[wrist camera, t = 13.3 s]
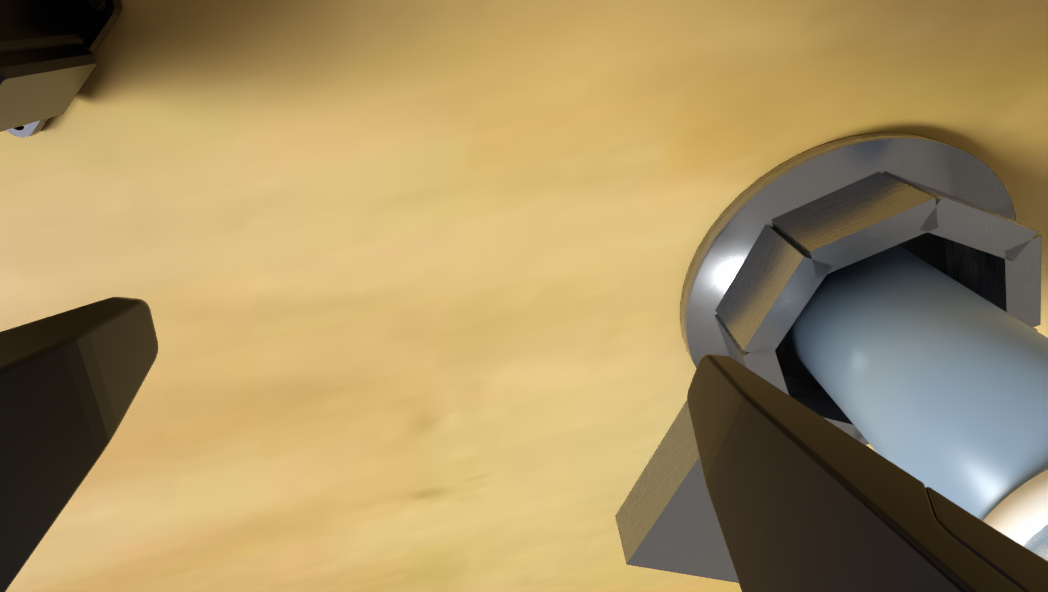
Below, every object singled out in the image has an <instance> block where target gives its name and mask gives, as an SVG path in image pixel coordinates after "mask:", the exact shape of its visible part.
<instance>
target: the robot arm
mask: <svg viewBox="0 0 1048 592" xmlns="http://www.w3.org/2000/svg"><path fill="white" fill-rule="evenodd" d="M105 4H106V5H105V9H103V8H101V7H100V6H99V5H98V3H97V1H96V0H0V132H1V131H5V130H6V131H8V132H9V133H11V134H13V135H15V136H17V137H22V138H23V137H28V136H32V135H35V134H37V133H38V132H39V131H40V130H41V129H42V127H43V126H44V124H45V123H46V121H47V120H48V119H49V118H51V117H55V116H58V115H61V114H63V113H64V111H65V110H66V108H67V107H68V106H69V104H70V103H71V101H72V100H73V98H74V97H75V96H76V94H77V93H78V91H79V90H80V88H81V87H82V85H83V84H84V83H85V81H86V80H87V78H88V77H89V75H90V74H91V72H92V71H93V70H94V68H95V67H96V65H97V60H96V54H94V51H95V50H96V49H97V47H98V46H99V44H100V43H101V41H102V40H103V38H104V37H105V35H106V34H107V32H108V31H109V30H110V28H111V27H112V25H113V24H114V22H115V21H116V19H117V18H118V16H119V15H120V13H121V10H122V6H121V1H120V0H105ZM22 125H25V126H22ZM157 352H158V341H157V337H156V333H155V328H154V324H153V320H152V316H151V311H150V308H149V306H148V304H147V303H146V302H145V301H143V300H141V299H134V298H124V297H112V298H108V299H105V300H102V301H98V302H95V303H92V304H89V305H85V306H82V307H79V308H76V309H73V310H69V311H66V312H63V313H60V314H57V315H53V316H50V317H47V318H44V319H41V320H37V321H34V322H31V323H28V324H25V325H21V326H18V327H15V328H12V329H9V330H5V331H2V332H0V592H5V591H6V590H7V588H8V587H9V586H10V584H11V583H12V581H13V580H14V578H15V577H16V576H17V574H18V573H19V571H20V570H21V568H22V567H23V566H24V564H25V563H26V561H27V560H28V558H29V557H30V556H31V554H32V553H33V551H34V550H35V548H36V547H37V546H38V544H39V543H40V541H41V540H42V538H43V537H44V536H45V534H46V533H47V531H48V530H49V528H50V527H51V526H52V524H53V523H54V521H55V520H56V518H57V517H58V516H59V514H60V513H61V511H62V510H63V509H64V507H65V506H66V504H67V503H68V501H69V500H70V499H71V497H72V496H73V494H74V493H75V491H76V490H77V489H78V487H79V486H80V484H81V483H82V481H83V480H84V479H85V477H86V476H87V474H88V473H89V471H90V470H91V469H92V467H93V466H94V464H95V463H96V461H97V460H98V459H99V457H100V456H101V454H102V453H103V451H104V450H105V448H106V447H107V445H108V444H109V442H110V440H111V439H112V437H113V435H114V434H115V432H116V430H117V429H118V427H119V425H120V423H121V421H122V420H123V418H124V416H125V414H126V412H127V410H128V409H129V407H130V405H131V403H132V401H133V399H134V398H135V396H136V394H137V392H138V390H139V388H140V387H141V385H142V383H143V381H144V379H145V377H146V376H147V374H148V372H149V370H150V368H151V366H152V365H153V363H154V361H155V359H156V356H157ZM687 403H688V408H689V413H690V417H691V422H692V426H693V431H694V436H695V440H696V445H697V449H698V454H699V458H700V463H701V468H702V472H703V476H704V479H705V483H706V486H707V489H708V493H709V496H710V499H711V502H712V505H713V508H714V511H715V513H716V516H717V519H718V522H719V525H720V528H721V531H722V534H723V537H724V540H725V543H726V546H727V549H728V552H729V555H730V558H731V561H732V564H733V566H734V569H735V572H736V575H737V578H738V581H739V584H740V587H741V590H742V592H1048V561H1047V560H1045V559H1044V558H1042V557H1040V556H1039V555H1037V554H1035V553H1034V552H1032V551H1030V550H1029V549H1027V548H1025V547H1024V546H1022V545H1020V544H1019V543H1017V542H1015V541H1014V540H1012V539H1011V538H1009V537H1007V536H1006V535H1004V534H1002V533H1001V532H999V531H997V530H996V529H994V528H993V527H991V526H989V525H988V524H986V523H985V522H983V521H982V520H980V519H978V518H977V517H975V516H974V515H972V514H971V513H969V512H967V511H966V510H964V509H963V508H961V507H960V506H958V505H956V504H955V503H953V502H952V501H950V500H949V499H947V498H946V497H944V496H943V495H941V494H940V493H938V492H937V491H935V490H934V489H932V488H930V487H925V485H924V483H923V482H921V481H919V480H918V479H916V478H915V477H913V476H912V475H910V474H909V473H907V472H906V471H904V470H903V469H901V468H900V467H898V466H896V465H895V464H893V463H892V462H890V461H889V460H887V459H886V458H884V457H883V456H881V455H880V454H878V453H877V452H875V451H873V450H872V449H870V448H869V447H867V446H866V445H864V444H863V443H861V442H860V441H858V440H857V439H855V438H854V437H852V436H851V435H849V434H847V433H846V432H844V431H843V430H841V429H840V428H838V427H837V426H835V425H834V424H832V423H831V422H829V421H828V420H826V419H824V418H823V417H821V416H820V415H818V414H817V413H815V412H814V411H812V410H811V409H809V408H808V407H806V406H805V405H803V404H801V403H800V402H798V401H797V400H795V399H794V398H792V397H791V396H789V395H788V394H786V393H785V392H783V391H782V390H780V389H779V388H777V387H775V386H774V385H772V384H771V383H769V382H768V381H766V380H765V379H763V378H762V377H760V376H759V375H757V374H756V373H754V372H752V371H751V370H749V369H748V368H746V367H745V366H743V365H742V364H740V363H739V362H737V361H736V360H734V359H733V358H731V357H729V356H726V355H717V354H706V355H704V356H703V357H702V358H701V359H700V361H699V364H698V366H697V369H696V372H695V374H694V377H693V379H692V382H691V385H690V387H689V390H688V395H687Z"/></svg>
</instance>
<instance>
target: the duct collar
mask: <svg viewBox="0 0 1048 592" xmlns="http://www.w3.org/2000/svg"><path fill="white" fill-rule="evenodd" d="M1037 233H1038V231H1035V230H1033V229H1031V228H1028V227H1026V226H1024V225H1022V224H1019V223H1017V222H1016V217H1015V212H1014V208H1013V205H1012V202H1011V198H1010V196H1009V194H1008V192H1007V191H1006V189H1005V187H1004V185H1003V183H1002V181H1001V180H1000V179H999V178H998V177H997V176H996V174H995V173H994V172H993V171H992V170H991V169H990V168H989V167H988V166H987V165H985V164H984V163H983V162H982V161H980V160H979V159H978V158H976V157H975V156H973V155H971V154H969V153H967V152H965V151H963V150H961V149H959V148H957V147H954V146H951V145H948V144H945V143H942V142H939V141H936V140H932V139H929V138H925V137H922V136H919V135H911V134H903V133H871V134H864V135H858V136H851V137H847V138H843V139H840V140H836V141H832V142H829V143H825V144H823V145H820V146H818V147H815V148H813V149H810V150H808V151H805V152H803V153H801V154H799V155H797V156H795V157H793V158H792V159H790V160H788V161H786V162H784V163H782V164H780V165H779V166H777V167H776V168H774V169H773V170H771V171H770V172H768V173H767V174H765V175H764V176H762V177H761V178H759V179H758V180H757V181H756V182H754V183H753V184H752V185H751V186H750V187H748V188H747V189H746V190H745V191H744V192H742V193H741V194H740V195H739V196H738V197H737V198H736V199H735V200H734V201H733V202H732V203H731V204H730V205H729V206H728V207H727V208H726V209H725V211H724V212H723V213H722V214H721V215H720V217H719V218H718V219H717V220H716V222H715V223H714V224H713V226H712V227H711V228H710V229H709V231H708V232H707V234H706V236H705V237H704V239H703V241H702V242H701V244H700V245H699V247H698V249H697V251H696V253H695V255H694V257H693V260H692V262H691V264H690V266H689V269H688V272H687V275H686V278H685V282H684V285H683V290H682V296H681V302H680V323H681V330H682V336H683V339H684V342H685V346H686V349H687V351H688V353H689V355H690V357H691V359H692V361H693V363H694V364H695V366H696V368H697V366H698V364H699V361H700V359H701V358H702V357H703V356H704V355H706V354H717V355H726V356H729V357H731V358H733V359H734V360H736V361H737V362H739V363H740V364H742V365H743V366H745V367H746V368H748V369H749V370H751V371H752V372H754V373H756V374H757V375H759V376H760V377H762V378H763V379H765V380H766V381H768V382H769V383H771V384H772V385H774V386H775V387H777V388H779V389H780V390H782V391H783V392H785V393H786V394H788V395H789V396H791V397H792V398H794V399H795V400H797V401H798V402H800V403H801V404H803V405H805V406H806V407H808V408H809V409H811V410H812V411H814V412H815V413H817V414H818V415H820V416H821V417H823V418H824V419H826V420H828V421H829V422H831V423H832V424H834V425H835V426H837V427H838V428H840V429H841V430H843V431H844V432H846V433H847V434H849V435H851V436H852V437H854V438H855V439H857V440H858V441H860V442H861V443H863V444H864V445H867V444H869V442H868V441H867V440H866V439H865V438H864V436H863V435H862V434H861V433H860V432H859V430H858V429H857V428H856V427H855V426H854V424H853V423H852V422H851V421H850V420H849V418H848V417H847V416H846V415H845V414H844V412H843V411H842V410H841V409H840V408H839V406H838V405H837V404H836V403H835V402H834V400H833V399H832V398H831V397H830V396H829V394H828V393H827V392H826V391H825V390H824V388H823V387H822V386H821V385H820V384H819V382H818V381H817V380H816V379H815V378H814V376H813V375H812V374H811V373H810V372H809V370H808V369H807V368H806V367H805V366H804V364H803V363H802V362H801V361H800V360H799V358H798V357H797V356H796V355H795V354H794V352H793V351H792V350H791V349H790V348H789V346H788V345H787V344H786V343H785V342H784V340H783V338H784V336H785V335H786V333H787V332H788V331H789V329H790V328H791V326H792V325H793V323H794V322H795V320H796V319H797V317H798V316H799V314H800V313H801V311H802V310H803V308H804V307H805V306H806V304H807V303H808V301H809V300H810V298H811V297H812V295H813V294H814V292H815V291H816V289H817V288H818V286H819V285H820V283H821V282H822V281H823V279H824V278H825V276H826V275H827V274H829V273H831V272H833V271H836V270H838V269H841V268H843V267H845V266H848V265H850V264H853V263H855V262H857V261H860V260H862V259H864V258H867V257H869V256H872V255H874V254H876V253H879V252H881V251H884V250H886V249H888V248H891V247H893V246H896V245H899V246H901V247H902V248H904V249H906V250H907V251H909V252H910V253H912V254H914V255H915V256H917V257H918V258H920V259H922V260H923V261H925V262H926V263H928V264H930V265H931V266H933V267H934V268H936V269H938V270H939V271H941V272H942V273H944V274H946V275H947V276H949V277H950V278H952V279H954V280H955V281H957V282H959V283H960V284H962V285H963V286H965V287H967V288H968V289H970V290H971V291H973V292H975V293H976V294H978V295H979V296H981V297H983V298H984V299H986V300H987V301H989V302H991V303H992V304H994V305H995V306H997V307H999V308H1000V309H1002V310H1003V311H1005V312H1007V313H1008V314H1010V315H1012V316H1013V317H1015V318H1016V319H1018V320H1020V321H1021V322H1023V323H1024V324H1026V325H1028V326H1029V327H1031V328H1032V329H1034V330H1036V331H1037V329H1035V328H1034V327H1035V326H1038V325H1040V311H1041V236H1040V235H1038V234H1037ZM616 521H617V525H618V529H619V534H620V538H621V542H622V547H623V551H624V555H625V560H626V564H627V565H633V566H639V567H646V568H652V569H658V570H664V571H670V572H676V573H682V574H688V575H694V576H700V577H706V578H712V579H718V580H724V581H730V582H737V583H739V581H738V578H737V575H736V572H735V569H734V566H733V564H732V561H731V558H730V555H729V552H728V549H727V546H726V543H725V540H724V537H723V534H722V531H721V528H720V525H719V522H718V519H717V516H716V513H715V511H714V508H713V505H712V502H711V499H710V496H709V493H708V489H707V486H706V483H705V479H704V476H703V472H702V468H701V463H700V458H699V454H698V449H697V445H696V440H695V436H694V431H693V426H692V422H691V417H690V413H689V408H688V403H687V402H686V403H685V405H684V406H683V408H682V410H681V411H680V413H679V414H678V416H677V418H676V419H675V421H674V423H673V424H672V426H671V427H670V429H669V431H668V432H667V434H666V436H665V437H664V439H663V440H662V442H661V444H660V445H659V447H658V449H657V450H656V452H655V453H654V455H653V457H652V458H651V460H650V461H649V463H648V465H647V466H646V468H645V470H644V471H643V473H642V474H641V476H640V478H639V479H638V481H637V483H636V484H635V486H634V487H633V489H632V491H631V492H630V494H629V496H628V497H627V499H626V500H625V502H624V504H623V505H622V507H621V508H620V510H619V512H618V513H617V515H616Z"/></svg>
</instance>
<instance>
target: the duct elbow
mask: <svg viewBox="0 0 1048 592" xmlns="http://www.w3.org/2000/svg"><path fill="white" fill-rule="evenodd" d="M783 340H784V342H785V343H786V344H787V345H788V346H789V348H790V349H791V350H792V351H793V352H794V354H795V355H796V356H797V357H798V358H799V360H800V361H801V362H802V363H803V364H804V366H805V367H806V368H807V369H808V370H809V372H810V373H811V374H812V375H813V376H814V378H815V379H816V380H817V381H818V382H819V384H820V385H821V386H822V387H823V388H824V390H825V391H826V392H827V393H828V394H829V396H830V397H831V398H832V399H833V400H834V402H835V403H836V404H837V405H838V406H839V408H840V409H841V410H842V411H843V412H844V414H845V415H846V416H847V417H848V418H849V420H850V421H851V422H852V423H853V424H854V426H855V427H856V428H857V429H858V430H859V432H860V433H861V434H862V435H863V436H864V438H865V439H866V440H867V441H868V442H869V444H870V445H871V446H872V447H873V448H874V450H875V451H876V452H877V453H878V454H880V455H881V456H883V457H884V458H886V459H887V460H889V461H890V462H892V463H893V464H895V465H896V466H898V467H900V468H901V469H903V470H904V471H906V472H907V473H909V474H910V475H912V476H913V477H915V478H916V479H918V480H919V481H921V482H923V483H924V485H925V487H930V488H932V489H934V490H935V491H937V492H938V493H940V494H941V495H943V496H944V497H946V498H947V499H949V500H950V501H952V502H953V503H955V504H956V505H958V506H960V507H961V508H963V509H964V510H966V511H967V512H969V513H971V514H972V515H974V516H975V517H977V518H978V519H980V520H982V521H983V522H985V523H986V524H988V525H989V526H991V527H993V528H994V529H996V530H997V531H999V532H1001V533H1002V534H1004V535H1006V536H1007V537H1009V538H1011V539H1012V540H1014V541H1015V542H1017V543H1019V544H1020V545H1022V546H1024V547H1025V548H1027V549H1029V550H1030V551H1032V552H1034V553H1035V554H1037V555H1039V556H1040V557H1042V558H1044V559H1045V560H1047V561H1048V338H1047V337H1045V336H1044V335H1042V334H1040V333H1039V332H1037V331H1036V330H1034V329H1032V328H1031V327H1029V326H1028V325H1026V324H1024V323H1023V322H1021V321H1020V320H1018V319H1016V318H1015V317H1013V316H1012V315H1010V314H1008V313H1007V312H1005V311H1003V310H1002V309H1000V308H999V307H997V306H995V305H994V304H992V303H991V302H989V301H987V300H986V299H984V298H983V297H981V296H979V295H978V294H976V293H975V292H973V291H971V290H970V289H968V288H967V287H965V286H963V285H962V284H960V283H959V282H957V281H955V280H954V279H952V278H950V277H949V276H947V275H946V274H944V273H942V272H941V271H939V270H938V269H936V268H934V267H933V266H931V265H930V264H928V263H926V262H925V261H923V260H922V259H920V258H918V257H917V256H915V255H914V254H912V253H910V252H909V251H907V250H906V249H904V248H902V247H901V246H899V245H896V246H893V247H891V248H888V249H886V250H884V251H881V252H879V253H876V254H874V255H872V256H869V257H867V258H864V259H862V260H860V261H857V262H855V263H853V264H850V265H848V266H845V267H843V268H841V269H838V270H836V271H833V272H831V273H829V274H827V275H826V276H825V278H824V279H823V281H822V282H821V283H820V285H819V286H818V288H817V289H816V291H815V292H814V294H813V295H812V297H811V298H810V300H809V301H808V303H807V304H806V306H805V307H804V308H803V310H802V311H801V313H800V314H799V316H798V317H797V319H796V320H795V322H794V323H793V325H792V326H791V328H790V329H789V331H788V332H787V333H786V335H785V336H784V338H783Z"/></svg>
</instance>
